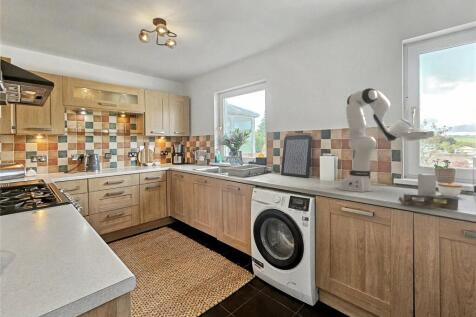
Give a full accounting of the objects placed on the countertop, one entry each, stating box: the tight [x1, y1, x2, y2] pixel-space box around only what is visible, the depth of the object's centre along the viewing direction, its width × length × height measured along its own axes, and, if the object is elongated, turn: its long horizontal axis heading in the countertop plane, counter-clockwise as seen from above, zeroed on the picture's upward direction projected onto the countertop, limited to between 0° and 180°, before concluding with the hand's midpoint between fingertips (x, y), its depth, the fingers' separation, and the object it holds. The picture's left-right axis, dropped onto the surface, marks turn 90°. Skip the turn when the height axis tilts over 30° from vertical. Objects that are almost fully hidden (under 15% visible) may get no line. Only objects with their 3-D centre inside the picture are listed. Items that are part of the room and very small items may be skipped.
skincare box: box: [417, 173, 437, 197], centre depth 125 cm, size 8×6×15 cm
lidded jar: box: [437, 181, 462, 198], centre depth 141 cm, size 11×11×9 cm
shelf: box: [398, 193, 459, 210], centre depth 123 cm, size 22×14×6 cm, turn 63°
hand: (417, 133), depth 148 cm, fingers open, 8 cm apart
